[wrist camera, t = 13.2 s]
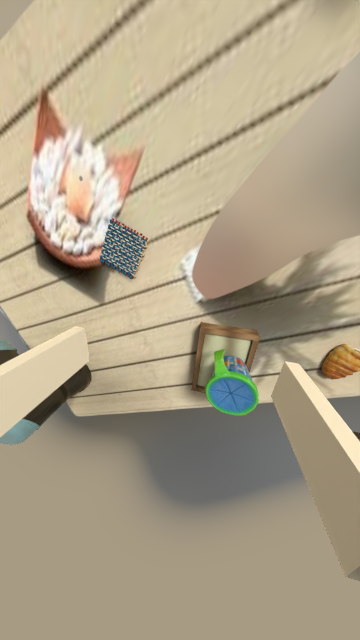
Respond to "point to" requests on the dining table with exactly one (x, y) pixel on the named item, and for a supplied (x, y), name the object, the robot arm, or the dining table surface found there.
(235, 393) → the snack cup
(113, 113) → the dining table surface
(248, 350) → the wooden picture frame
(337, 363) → the pastry
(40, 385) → the robot arm
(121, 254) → the woven mat
